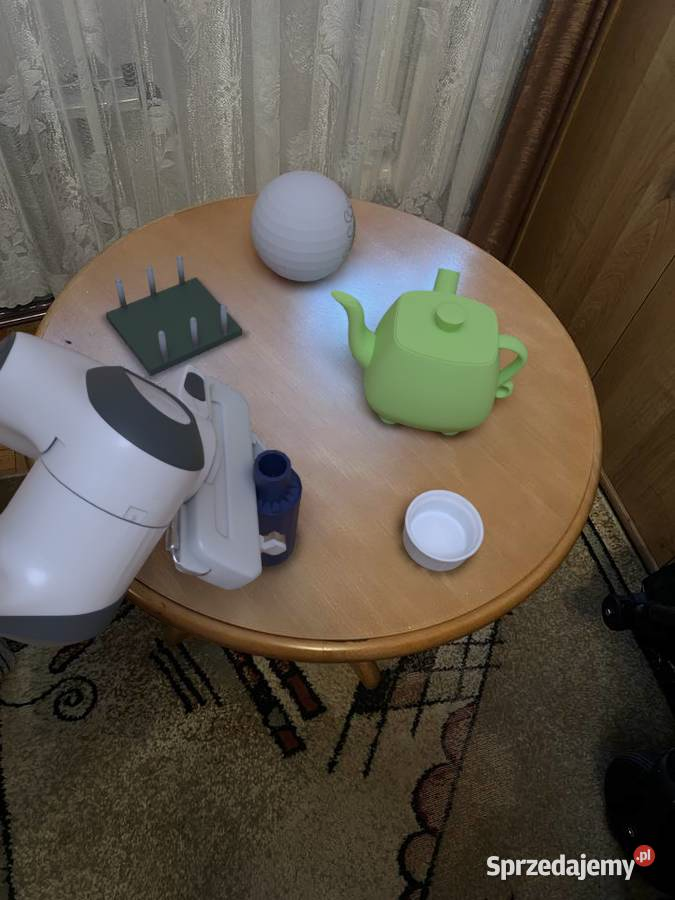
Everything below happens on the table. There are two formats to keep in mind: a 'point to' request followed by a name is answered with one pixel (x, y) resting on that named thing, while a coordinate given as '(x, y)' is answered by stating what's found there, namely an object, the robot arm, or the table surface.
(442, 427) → the teapot
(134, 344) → the rack
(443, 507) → the ramekin
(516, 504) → the table surface
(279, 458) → the bottle
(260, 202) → the decorative object
